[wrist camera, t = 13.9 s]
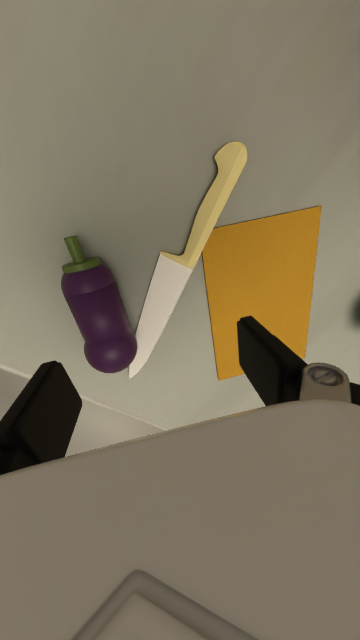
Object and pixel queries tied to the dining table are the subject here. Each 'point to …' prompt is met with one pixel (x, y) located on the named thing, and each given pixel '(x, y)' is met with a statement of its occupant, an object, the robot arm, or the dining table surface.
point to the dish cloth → (261, 281)
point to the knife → (185, 255)
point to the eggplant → (98, 311)
